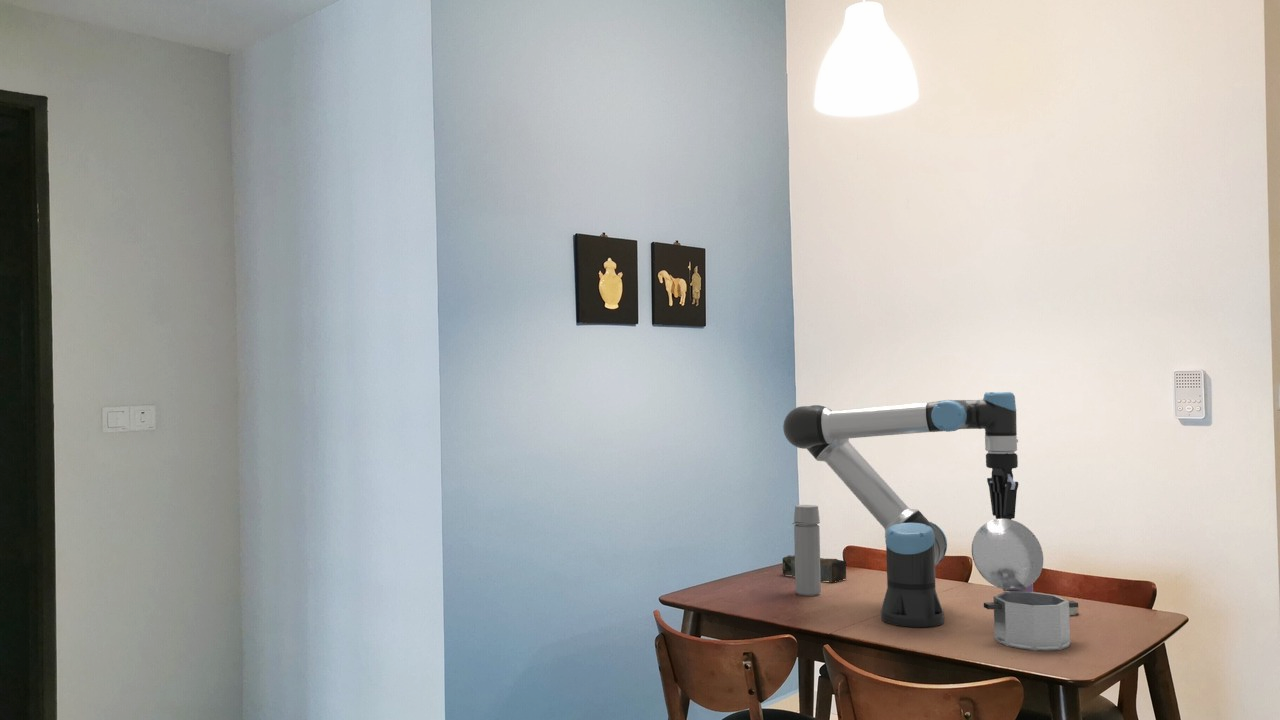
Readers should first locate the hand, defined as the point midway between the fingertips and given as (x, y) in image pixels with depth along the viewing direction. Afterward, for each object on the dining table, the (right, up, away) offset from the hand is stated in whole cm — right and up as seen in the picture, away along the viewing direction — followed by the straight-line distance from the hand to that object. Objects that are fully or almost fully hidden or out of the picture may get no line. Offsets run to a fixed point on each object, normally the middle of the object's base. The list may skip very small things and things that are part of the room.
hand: (1004, 545), depth 230 cm
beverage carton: (-38, -21, +53) cm, 69 cm away
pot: (-3, -17, -24) cm, 29 cm away
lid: (-4, +1, -13) cm, 13 cm away
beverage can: (+9, -19, +12) cm, 24 cm away
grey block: (+16, -18, +4) cm, 24 cm away
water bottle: (-45, -20, +30) cm, 58 cm away
